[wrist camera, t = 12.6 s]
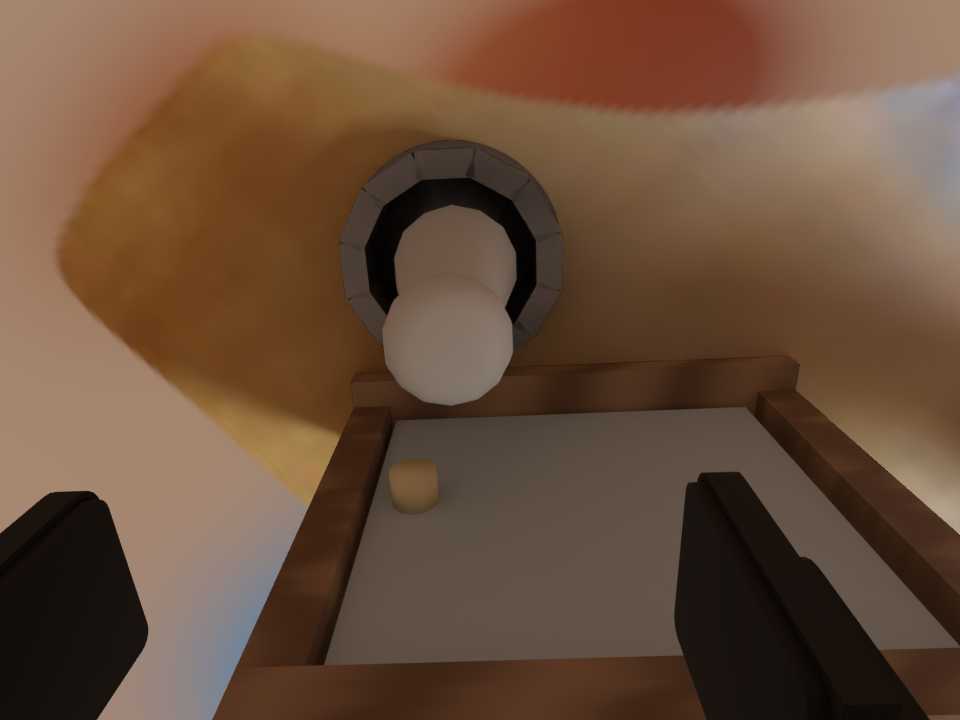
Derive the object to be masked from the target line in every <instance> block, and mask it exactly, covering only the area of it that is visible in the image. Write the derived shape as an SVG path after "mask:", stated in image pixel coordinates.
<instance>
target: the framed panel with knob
mask: <svg viewBox="0 0 960 720" xmlns="http://www.w3.org/2000/svg"><path fill="white" fill-rule="evenodd" d="M799 366H800V364H798V363H797V362H796V361H795V360H793V359H792V358H791V357H790V356H779V357H755V358H730V359H706V360H681V361H657V362H633V363H608V364H584V365H559V366H535V367H511V368H506V369H505V371H504V373H503V375H502V377H501V379H500V381H499V383H498V384H497V385H495V386H494V387H493V388H492V389H490V390H489V391H488V392H487V393H485V394H484V395H483V396H482V397H480V398H479V399H477V400H473V401H469V402H465V403H461V404H456V405H452V406H450V405H443V404H436V403H429V402H423V401H422V400H420V399H419V398H417V397H416V396H414V395H413V394H411V393H410V392H408V391H406V390H405V389H403V388H402V387H400V385H399V384H398V382H397V381H396V379H395V378H394V376H393V375H392V373H391V372H389V373H364V374H355V375H354V377H353V379H352V381H351V390H352V397H353V404H354V409H353V411H352V413H351V415H350V418H349V420H348V422H347V424H346V426H345V429H344V431H343V433H342V435H341V437H340V440H339V442H338V444H337V446H336V448H335V451H334V453H333V455H332V457H331V459H330V462H329V464H328V466H327V468H326V470H325V473H324V475H323V477H322V479H321V481H320V484H319V486H318V488H317V490H316V492H315V495H314V497H313V499H312V501H311V503H310V506H309V508H308V510H307V512H306V515H305V517H304V519H303V521H302V523H301V526H300V528H299V530H298V532H297V534H296V537H295V539H294V541H293V543H292V545H291V548H290V550H289V552H288V554H287V556H286V559H285V561H284V563H283V565H282V568H281V570H280V572H279V574H278V576H277V578H276V581H275V583H274V585H273V587H272V589H271V592H270V594H269V596H268V598H267V601H266V603H265V605H264V607H263V609H262V611H261V614H260V616H259V618H258V620H257V622H256V625H255V627H254V629H253V631H252V633H251V636H250V638H249V640H248V643H247V645H246V647H245V649H244V651H243V653H242V656H241V658H240V660H239V662H238V664H237V666H236V669H235V671H234V673H233V675H232V678H231V680H230V682H229V684H228V687H227V689H226V691H225V693H224V695H223V698H222V700H221V702H220V704H219V706H218V708H217V711H216V713H215V715H214V717H213V719H212V720H706V717H705V714H704V711H703V709H702V706H701V703H700V700H699V697H698V694H697V692H696V689H695V686H694V683H693V680H692V678H691V675H690V672H689V669H688V666H687V664H686V661H685V658H684V655H676V656H641V657H605V658H569V659H534V660H498V661H462V662H427V663H391V664H355V665H324V663H325V660H326V657H327V653H328V650H329V646H330V643H331V640H332V636H333V633H334V630H335V626H336V623H337V619H338V616H339V613H340V609H341V606H342V602H343V599H344V596H345V592H346V589H347V586H348V582H349V579H350V575H351V572H352V569H353V565H354V562H355V558H356V555H357V552H358V548H359V545H360V542H361V538H362V535H363V531H364V528H365V525H366V521H367V518H368V514H369V511H370V508H371V504H372V501H373V498H374V494H375V491H376V487H377V484H378V481H379V477H380V474H381V470H382V467H383V464H384V460H385V457H386V454H387V450H388V447H389V443H390V440H391V437H392V433H393V430H394V426H395V423H396V421H398V420H424V419H449V418H475V417H501V416H527V415H552V414H578V413H604V412H629V411H655V410H681V409H707V408H732V407H746V408H747V409H748V410H749V411H750V413H751V414H752V415H753V416H754V417H755V418H756V419H757V420H758V421H759V423H760V424H761V425H762V426H763V427H764V428H765V429H766V430H767V431H768V433H769V434H770V435H771V436H772V437H773V438H774V439H775V440H776V442H777V443H778V444H779V445H780V446H781V447H782V448H783V449H784V450H785V452H786V453H787V454H788V455H789V456H790V457H791V458H792V459H793V461H794V462H795V463H796V464H797V465H798V466H799V467H800V468H801V469H802V471H803V472H804V473H805V474H806V475H807V476H808V477H809V478H810V479H811V481H812V482H813V483H814V484H815V485H816V486H817V487H818V488H819V490H820V491H821V492H822V493H823V494H824V495H825V496H826V497H827V498H828V500H829V501H830V502H831V503H832V504H833V505H834V506H835V507H836V508H837V510H838V511H839V512H840V513H841V514H842V515H843V516H844V517H845V519H846V520H847V521H848V522H849V523H850V524H851V525H852V526H853V527H854V529H855V530H856V531H857V532H858V533H859V534H860V535H861V536H862V537H863V539H864V540H865V541H866V542H867V543H868V544H869V545H870V546H871V548H872V549H873V550H874V551H875V552H876V553H877V554H878V555H879V556H880V558H881V559H882V560H883V561H884V562H885V563H886V564H887V565H888V566H889V568H890V569H891V570H892V571H893V572H894V573H895V574H896V575H897V577H898V578H899V579H900V580H901V581H902V582H903V583H904V584H905V585H906V587H907V588H908V589H909V590H910V591H911V592H912V593H913V594H914V596H915V597H916V598H917V599H918V600H919V601H920V602H921V603H922V604H923V606H924V607H925V608H926V609H927V610H928V611H929V612H930V613H931V614H932V616H933V617H934V618H935V619H936V620H937V621H938V622H939V623H940V625H941V626H942V627H943V628H944V629H945V630H946V631H947V632H948V633H949V635H950V636H951V637H952V638H953V639H954V640H955V641H956V642H957V643H958V645H959V646H960V535H959V534H958V533H957V532H956V531H955V530H954V529H953V528H951V527H950V526H949V525H948V524H947V523H946V522H945V521H943V520H942V519H941V518H940V517H939V516H938V515H937V514H936V513H934V512H933V511H932V510H931V509H930V508H929V507H928V506H926V505H925V504H924V503H923V502H922V501H921V500H920V499H919V498H917V497H916V496H915V495H914V494H913V493H912V492H911V491H909V490H908V489H907V488H906V487H905V486H904V485H903V484H901V483H900V482H899V481H898V480H897V479H896V478H895V477H894V476H892V475H891V474H890V473H889V472H888V471H887V470H886V469H884V468H883V467H882V466H881V465H880V464H879V463H878V462H877V461H875V460H874V459H873V458H872V457H871V456H870V455H869V454H867V453H866V452H865V451H864V450H863V449H862V448H861V447H859V446H858V445H857V444H856V443H855V442H854V441H853V440H852V439H850V438H849V437H848V436H847V435H846V434H845V433H844V432H842V431H841V430H840V429H839V428H838V427H837V426H836V425H835V424H833V423H832V422H831V421H830V420H829V419H828V418H827V417H825V416H824V415H823V414H822V413H821V412H820V411H819V410H818V409H816V408H815V407H814V406H813V405H812V404H811V403H810V402H808V401H807V400H806V399H805V398H804V397H803V396H802V395H800V394H799V393H798V392H797V391H796V384H797V378H798V372H799ZM879 651H880V652H881V653H882V655H883V656H884V657H885V659H886V660H887V662H888V663H889V664H890V666H891V667H892V668H893V670H894V671H895V673H896V674H897V675H898V677H899V678H900V679H901V681H902V682H903V683H904V685H905V686H906V688H907V689H908V690H909V692H910V693H911V694H912V696H913V697H914V699H915V700H916V701H917V703H918V704H919V705H920V707H921V708H922V710H923V711H924V712H925V714H926V715H927V716H928V718H929V719H930V720H960V648H926V649H890V650H879Z"/></svg>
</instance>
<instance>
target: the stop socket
mask: <svg viewBox="0 0 960 720" xmlns="http://www.w3.org/2000/svg"><path fill="white" fill-rule="evenodd" d="M450 205H455V206H460V207H465V208H470V209H474V210H479V211H481V212H483V213H484V214H486V215H487V216H488V217H490V218H491V219H493V220H494V221H495V222H497V223H498V224H500V225H501V226H502V227H503V228H504V230H505V232H506V234H507V236H508V238H509V240H510V242H511V244H512V246H513V248H514V250H515V252H516V274H517V280H516V282H515V284H514V287H513V289H512V292H511V294H510V297H509V299H508V301H507V304H506V306H505V310H506V312H507V313H508V315H509V317H510V320H511V323H512V336H513V351H514V350H516V349H518V348H519V347H521V346H523V345H524V344H526V343H528V342H530V341H531V340H532V338H531V336H532V337H535V336H536V334H537V332H538V331H539V329H540V327H541V325H542V324H543V322H544V320H545V319H546V317H547V315H548V314H549V312H550V310H551V308H552V307H553V305H554V303H555V302H556V300H557V298H558V296H559V295H560V293H561V291H560V289H562V233H561V229H560V227H559V222H558V219H557V216H556V213H555V210H554V208H553V206H552V204H551V202H550V200H549V198H548V196H547V194H546V193H545V191H544V190H543V188H542V187H541V185H540V184H539V183H538V181H537V180H536V179H535V178H534V177H533V176H532V175H531V174H530V172H529V171H528V170H526V169H525V168H524V167H523V166H522V165H520V164H519V163H518V162H517V161H515V160H514V159H512V158H511V157H509V156H507V155H506V154H504V153H502V152H500V151H498V150H496V149H493V148H491V147H488V146H485V145H481V144H478V143H473V142H467V141H449V140H447V141H439V142H431V143H428V144H424V145H420V146H417V147H415V148H412V149H410V150H408V151H405V152H403V153H401V154H400V155H398V156H396V157H395V158H393V159H391V160H390V161H389V162H388V163H386V164H385V165H384V166H383V167H381V168H380V169H379V170H378V171H377V172H376V173H375V174H374V176H373V177H372V178H371V179H370V180H369V181H368V183H367V184H365V185H364V186H363V188H362V189H360V192H359V194H358V196H357V199H356V201H355V203H354V206H353V208H352V210H351V213H350V215H349V217H348V220H347V222H346V225H345V227H344V229H343V232H342V234H341V236H340V239H339V241H341V242H340V243H339V244H338V246H339V254H340V261H341V268H342V275H343V283H344V290H345V297H346V298H349V300H348V301H347V302H348V304H349V305H350V306H351V308H352V309H353V310H354V312H355V313H356V314H357V316H358V317H359V318H360V319H361V321H362V322H363V323H364V325H365V326H366V327H367V329H368V330H369V331H370V333H371V334H372V335H373V337H374V338H375V339H376V341H377V342H378V343H379V344H380V343H382V342H383V333H382V329H383V326H384V324H385V321H386V318H387V316H388V313H389V310H390V308H391V305H392V303H393V301H394V300H395V299H396V298H397V297H398V296H399V295H398V290H397V285H396V274H395V262H394V257H395V254H396V251H397V248H398V245H399V243H400V240H401V237H402V234H403V232H404V231H405V230H406V229H407V228H408V227H409V226H410V225H412V224H413V223H414V222H415V221H416V220H417V219H418V218H420V217H421V216H422V215H423V214H424V213H427V212H430V211H433V210H437V209H440V208H443V207H446V206H450ZM382 347H384V344H383V345H382Z"/></svg>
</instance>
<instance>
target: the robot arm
mask: <svg viewBox="0 0 960 720" xmlns="http://www.w3.org/2000/svg"><path fill="white" fill-rule="evenodd" d="M674 623H675V630H676V634H677V638H678V641H679V644H680V647H681V650H682V652H683V655H684V658H685V661H686V664H687V666H688V669H689V672H690V675H691V678H692V680H693V683H694V686H695V689H696V692H697V694H698V697H699V700H700V703H701V706H702V709H703V711H704V714H705V717H706V720H930V719H929V718H928V716H927V715H926V714H925V712H924V711H923V710H922V708H921V707H920V705H919V704H918V703H917V701H916V700H915V699H914V697H913V696H912V694H911V693H910V692H909V690H908V689H907V688H906V686H905V685H904V683H903V682H902V681H901V679H900V678H899V677H898V675H897V674H896V673H895V671H894V670H893V668H892V667H891V666H890V664H889V663H888V662H887V660H886V659H885V657H884V656H883V655H882V653H881V652H880V651H879V649H878V648H877V646H876V645H875V644H874V642H873V641H872V640H871V638H870V637H869V635H868V634H867V633H866V631H865V630H864V629H863V627H862V626H861V624H860V623H859V622H858V620H857V619H856V618H855V616H854V615H853V613H852V612H851V611H850V609H849V608H848V607H847V605H846V604H845V602H844V601H843V600H842V598H841V597H840V596H839V594H838V593H837V591H836V590H835V589H834V587H833V586H832V585H831V583H830V582H829V580H828V579H827V578H826V576H825V575H824V574H823V572H822V571H821V570H820V568H819V567H818V566H817V565H816V564H815V563H814V562H813V561H812V560H811V559H809V558H807V557H800V556H799V555H798V553H797V552H796V550H795V549H794V548H793V546H792V545H791V543H790V542H789V540H788V539H787V538H786V536H785V535H784V533H783V532H782V530H781V529H780V528H779V526H778V525H777V523H776V522H775V520H774V519H773V518H772V516H771V515H770V513H769V512H768V511H767V509H766V508H765V506H764V505H763V503H762V502H761V501H760V499H759V498H758V496H757V495H756V493H755V492H754V491H753V489H752V488H751V486H750V485H749V483H748V482H747V481H746V479H745V478H744V476H743V475H742V474H741V473H740V472H703V473H701V474H699V477H698V480H697V482H689V483H688V484H687V486H686V492H685V503H684V514H683V524H682V535H681V546H680V556H679V567H678V577H677V588H676V599H675V609H674ZM147 637H148V624H147V621H146V618H145V615H144V612H143V609H142V606H141V603H140V600H139V597H138V594H137V591H136V588H135V585H134V582H133V579H132V576H131V573H130V570H129V567H128V564H127V561H126V558H125V555H124V552H123V549H122V546H121V543H120V540H119V537H118V534H117V532H116V528H115V525H114V522H113V519H112V516H111V513H110V510H109V507H108V505H107V504H106V503H105V502H104V501H103V500H99V498H98V496H97V495H96V494H94V493H93V492H90V491H71V492H54V493H49V494H48V495H46V496H45V497H43V498H42V499H41V500H40V501H39V502H37V503H36V504H35V505H34V506H33V507H31V508H30V509H29V510H28V511H27V512H26V513H24V514H23V515H22V516H21V517H20V518H18V519H17V520H16V521H15V522H13V523H12V524H11V525H10V526H9V527H8V528H6V529H5V530H4V531H3V532H2V533H0V720H97V719H98V717H99V715H100V714H101V712H102V711H103V709H104V708H105V706H106V705H107V703H108V702H109V700H110V699H111V697H112V696H113V694H114V693H115V691H116V690H117V688H118V687H119V685H120V684H121V682H122V681H123V679H124V678H125V676H126V675H127V673H128V672H129V670H130V669H131V667H132V665H133V664H134V662H135V661H136V659H137V658H138V656H139V655H140V653H141V652H142V650H143V648H144V647H145V644H146V641H147Z"/></svg>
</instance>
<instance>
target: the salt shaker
mask: <svg viewBox="0 0 960 720" xmlns="http://www.w3.org/2000/svg"><path fill="white" fill-rule="evenodd" d="M394 262H395V274H396V285H397V290H398V295H399V296H398V297H397V298H396V299H395V300H394V301H393V303H392V305H391V308H390V310H389V313H388V316H387V318H386V321H385V324H384V326H383V329H382V333H383V344H384V354H385V364H386V366H387V367H388V369H389V370H390V372H391V373H392V375H393V376H394V378H395V379H396V381H397V382H398V384H399V385H400V387H402V388H403V389H405V390H406V391H408V392H410V393H411V394H413V395H414V396H416V397H417V398H419V399H420V400H422V401H423V402H429V403H436V404H443V405H450V406H452V405H456V404H461V403H465V402H469V401H473V400H477V399H479V398H480V397H482V396H483V395H484V394H485V393H487V392H488V391H489V390H490V389H492V388H493V387H494V386H495V385H497V384H498V383H499V381H500V379H501V377H502V375H503V373H504V371H505V369H506V367H507V365H508V363H509V361H510V360H511V357H512V354H513V336H512V323H511V320H510V317H509V315H508V313H507V312H506V310H505V306H506V304H507V301H508V299H509V297H510V294H511V292H512V289H513V287H514V284H515V282H516V280H517V274H516V252H515V250H514V248H513V246H512V244H511V242H510V240H509V238H508V236H507V234H506V232H505V230H504V228H503V227H502V226H501V225H500V224H498V223H497V222H495V221H494V220H493V219H491V218H490V217H488V216H487V215H486V214H484V213H483V212H481V211H479V210H474V209H470V208H465V207H460V206H455V205H450V206H446V207H443V208H440V209H437V210H433V211H430V212H427V213H424V214H423V215H422V216H421V217H420V218H418V219H417V220H416V221H415V222H414V223H413V224H412V225H410V226H409V227H408V228H407V229H406V230H405V231H404V232H403V234H402V237H401V240H400V243H399V245H398V248H397V251H396V254H395V257H394Z"/></svg>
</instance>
